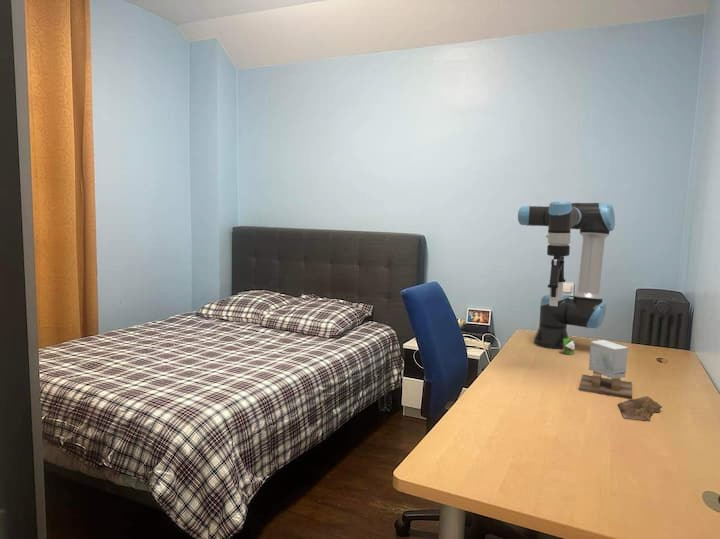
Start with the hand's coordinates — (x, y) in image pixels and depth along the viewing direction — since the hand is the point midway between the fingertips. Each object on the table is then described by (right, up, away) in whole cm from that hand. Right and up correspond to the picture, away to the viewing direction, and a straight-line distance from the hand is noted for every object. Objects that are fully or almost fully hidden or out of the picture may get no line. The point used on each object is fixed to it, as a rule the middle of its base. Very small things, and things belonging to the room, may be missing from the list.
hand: (556, 302), depth 185 cm
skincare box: (+14, -24, -10) cm, 29 cm away
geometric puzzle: (+18, -24, +33) cm, 45 cm away
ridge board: (+14, -29, -10) cm, 33 cm away
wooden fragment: (+15, -32, -27) cm, 44 cm away
